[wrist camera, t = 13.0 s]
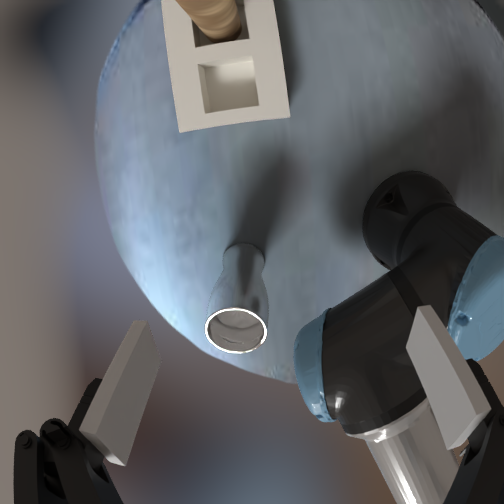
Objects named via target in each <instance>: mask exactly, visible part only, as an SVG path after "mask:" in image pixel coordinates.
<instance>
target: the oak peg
mask: <svg viewBox="0 0 504 504" xmlns="http://www.w3.org/2000/svg"><path fill="white" fill-rule="evenodd" d="M175 1H176V2H177V3H178V4H179V5H180V6H181V7H182V9H183V10H184V11H185V12H186V13H187V14H188V15H189V17H190V18H191V19H192V20H193V21H194V22H195V24H196V25H197V26H198V27H199V28H200V30H201V31H202V32H203V33H204V34H205V36H206V37H207V38H208V39H209V40H210V41H211V42H213V43H215V44H218V43H224V42H230V41H235V40H236V39H237V38H238V37H239V36H240V34H241V31H242V25H241V21H240V17H239V14H238V10H237V6H236V3H235V0H175Z"/></svg>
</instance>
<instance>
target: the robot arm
mask: <svg viewBox="0 0 504 504" xmlns="http://www.w3.org/2000/svg"><path fill="white" fill-rule="evenodd" d="M362 226H363V236H364V240H365V243H366V245H367V247H368V249H369V250H370V252H371V253H372V255H373V257H374V258H375V259H376V260H377V261H378V262H379V263H380V264H381V265H382V266H384V267H385V268H387V269H389V270H391V271H389V272H388V273H386V274H384V275H383V276H381V277H380V278H378V279H377V280H375V281H374V282H372V283H371V284H369V285H368V286H366V287H365V288H363V289H362V290H360V291H359V292H357V293H355V294H354V295H352V296H351V297H349V298H348V299H346V300H344V301H343V302H341V303H340V304H338V305H336V306H335V307H333V308H328V309H326V310H325V311H324V312H323V314H322V315H320V316H319V317H317V318H316V319H314V320H313V321H311V322H310V323H308V324H307V325H305V326H304V327H303V328H302V329H301V330H300V331H299V333H298V335H297V337H296V340H295V344H294V356H293V358H294V368H295V374H296V378H297V382H298V385H299V388H300V391H301V394H302V396H303V398H304V401H305V403H306V405H307V406H308V408H309V410H310V411H311V412H312V413H313V414H314V415H316V417H317V419H319V420H320V421H322V422H333V421H335V420H337V419H338V420H339V422H340V424H341V425H342V427H343V429H344V431H345V433H346V434H347V435H348V436H351V437H356V438H361V439H364V440H365V441H366V443H367V445H368V447H369V449H370V451H371V453H372V455H373V457H374V459H375V461H376V463H377V464H378V467H379V469H380V471H381V473H382V474H383V477H384V479H385V480H386V483H387V484H388V487H389V488H390V490H391V492H392V494H393V496H394V498H395V500H396V502H397V504H504V407H503V406H502V404H501V402H500V401H499V399H498V397H497V395H496V393H495V391H494V389H493V387H492V386H491V384H490V382H488V379H487V377H486V375H484V372H483V370H482V368H481V366H480V365H479V364H478V363H477V362H476V361H479V360H480V359H482V358H484V357H485V356H487V355H488V354H489V353H491V352H492V351H493V350H494V349H495V348H496V347H497V346H498V345H499V344H500V343H501V342H502V341H503V340H504V238H503V237H501V236H498V235H497V234H495V233H494V232H493V231H491V230H490V229H489V228H487V227H486V226H484V225H483V224H482V223H480V222H479V221H477V220H476V219H474V218H473V217H471V216H470V215H469V214H467V213H466V212H464V211H463V210H461V209H460V208H458V207H457V206H456V204H455V202H454V201H453V199H452V197H451V195H450V193H449V192H448V190H447V189H446V188H445V186H444V185H443V184H442V183H440V182H439V181H438V180H436V179H435V178H433V177H431V176H429V175H427V174H425V173H422V172H417V171H407V172H402V173H398V174H396V175H394V176H392V177H390V178H388V179H387V180H385V181H384V182H383V183H382V184H381V185H380V186H379V187H378V188H377V189H376V190H375V192H374V193H373V194H372V196H371V198H370V199H369V201H368V203H367V206H366V208H365V212H364V216H363V225H362ZM161 361H162V359H161V357H160V354H159V351H158V349H157V346H156V344H155V341H154V338H153V335H152V333H151V330H150V327H149V325H148V322H147V321H133V323H132V325H131V327H130V328H129V330H128V332H127V334H126V336H125V338H124V339H123V342H122V343H121V345H120V347H119V349H118V351H117V353H116V355H115V356H114V358H113V360H112V362H111V364H110V366H109V368H108V370H107V372H106V374H105V376H104V378H103V379H99V378H95V379H94V380H93V381H92V382H91V383H90V384H89V385H88V387H87V388H86V390H85V392H84V396H82V398H81V400H80V403H79V404H78V406H77V408H76V410H75V412H74V414H73V416H72V419H71V420H70V422H69V425H68V426H67V425H66V424H65V423H64V422H63V421H62V420H60V419H56V418H53V419H49V420H48V421H46V422H45V423H44V424H43V425H42V426H41V429H40V437H38V436H37V435H36V434H35V433H34V432H32V431H31V430H25V431H22V432H21V433H20V434H19V435H18V436H17V438H16V441H15V453H14V504H124V503H123V502H122V500H121V498H120V496H119V494H118V492H117V490H116V488H115V486H114V484H113V482H112V480H111V478H110V475H109V473H108V471H107V469H106V466H105V465H104V463H103V459H104V457H105V458H107V459H108V460H109V461H110V462H112V463H115V464H119V465H123V466H126V464H127V460H128V457H129V454H130V451H131V448H132V445H133V441H134V439H135V435H136V432H137V429H138V426H139V424H140V420H141V417H142V415H143V412H144V408H145V406H146V403H147V400H148V397H149V394H150V392H151V389H152V386H153V383H154V380H155V377H156V375H157V372H158V369H159V367H160V364H161ZM467 438H468V440H469V444H468V445H467V447H466V448H465V449H464V450H463V451H462V452H461V453H460V455H459V456H462V455H463V454H464V453H465V454H464V457H463V459H462V462H461V464H460V467H459V464H458V461H457V459H456V456H455V454H454V451H453V448H455V447H458V446H460V445H462V444H463V443H464V441H465V440H466V439H467Z"/></svg>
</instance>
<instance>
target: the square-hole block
mask: <svg viewBox="0 0 504 504" xmlns="http://www.w3.org/2000/svg"><path fill="white" fill-rule="evenodd" d="M161 3H162V13H163V22H164V30H165V38H166V46H167V54H168V61H169V69H170V76H171V82H172V89H173V96H174V102H175V108H176V114H177V120H178V126H179V132H180V133H182V132H187V131H192V130H198V129H203V128H209V127H215V126H221V125H228V124H235V123H242V122H250V121H258V120H267V119H277V118H289V117H290V111H289V103H288V95H287V87H286V79H285V72H284V65H283V58H282V51H281V45H280V38H279V32H278V26H277V20H276V14H275V8H274V3H273V0H235V3H236V6H237V10H238V14H239V17H240V21H241V25H242V31H241V34H240V36H239V37H238V38H237V39H236V40H235V41H230V42H224V43H218V44H215V43H213V42H211V41H210V40H209V39H208V38H207V37H206V36H205V34H204V33H203V32H202V31H201V30H200V28H199V27H198V26H197V25H196V24H195V22H194V21H193V20H192V19H191V18H190V17H189V15H188V14H187V13H186V12H185V11H184V10H183V9H182V7H181V6H180V5H179V4H178V3H177V2H176V1H175V0H161Z"/></svg>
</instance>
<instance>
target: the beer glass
mask: <svg viewBox="0 0 504 504" xmlns="http://www.w3.org/2000/svg"><path fill="white" fill-rule="evenodd" d="M222 263H223V271H222V273H221V275H220V277H219V278H218V280H217V282H216V283H215V285H214V287H213V290H212V292H211V295H210V298H209V302H208V307H207V314H206V323H205V334H206V336H207V338H208V340H209V341H210V342H211V343H212V344H213V345H214V346H216V347H217V348H219V349H221V350H223V351H226V352H230V353H246V352H250V351H253V350H255V349H257V348H258V347H260V346H261V345H262V344H263V343H264V341H265V340H266V337H267V333H268V331H267V328H268V319H269V301H268V295H267V290H266V287H265V284H264V281H263V278H262V271H263V268H264V257H263V254H262V253H261V251H260V250H259V249H258V248H257V247H255V246H253V245H251V244H247V243H238V244H235V245H233V246H231V247H229V248H228V249H227V250H226V252H225V253H224V255H223V260H222Z"/></svg>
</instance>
